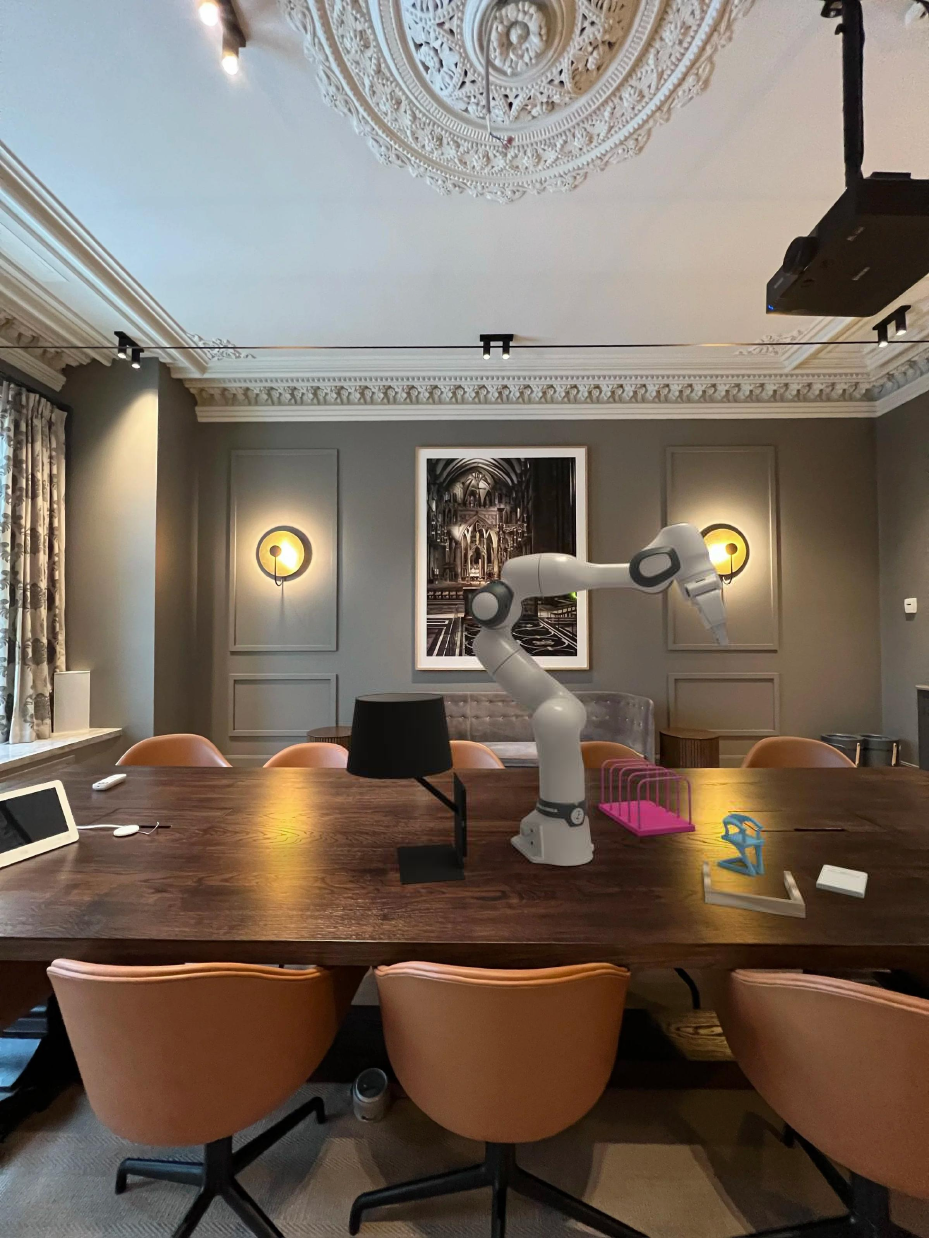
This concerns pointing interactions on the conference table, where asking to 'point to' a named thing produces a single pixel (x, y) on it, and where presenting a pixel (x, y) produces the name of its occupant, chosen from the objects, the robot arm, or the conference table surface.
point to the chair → (743, 844)
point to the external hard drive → (842, 881)
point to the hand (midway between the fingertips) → (723, 644)
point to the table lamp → (411, 769)
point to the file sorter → (646, 805)
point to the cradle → (756, 898)
